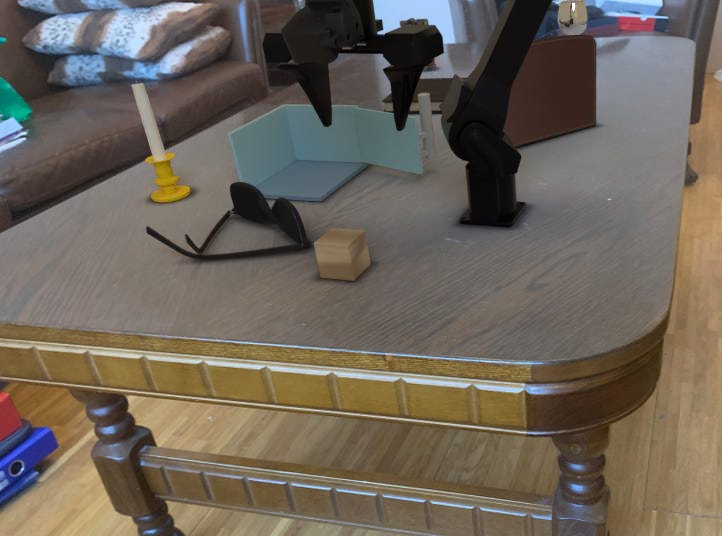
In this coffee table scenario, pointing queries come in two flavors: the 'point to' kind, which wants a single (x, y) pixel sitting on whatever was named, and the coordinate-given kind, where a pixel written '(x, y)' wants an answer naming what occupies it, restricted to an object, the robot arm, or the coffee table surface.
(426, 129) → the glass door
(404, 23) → the lighter
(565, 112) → the letter holder
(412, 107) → the hardcover book
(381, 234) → the coffee table surface
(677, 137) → the coffee table surface
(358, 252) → the block
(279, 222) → the sunglasses
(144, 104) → the candle
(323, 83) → the robot arm
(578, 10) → the wineglass
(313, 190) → the enclosure
